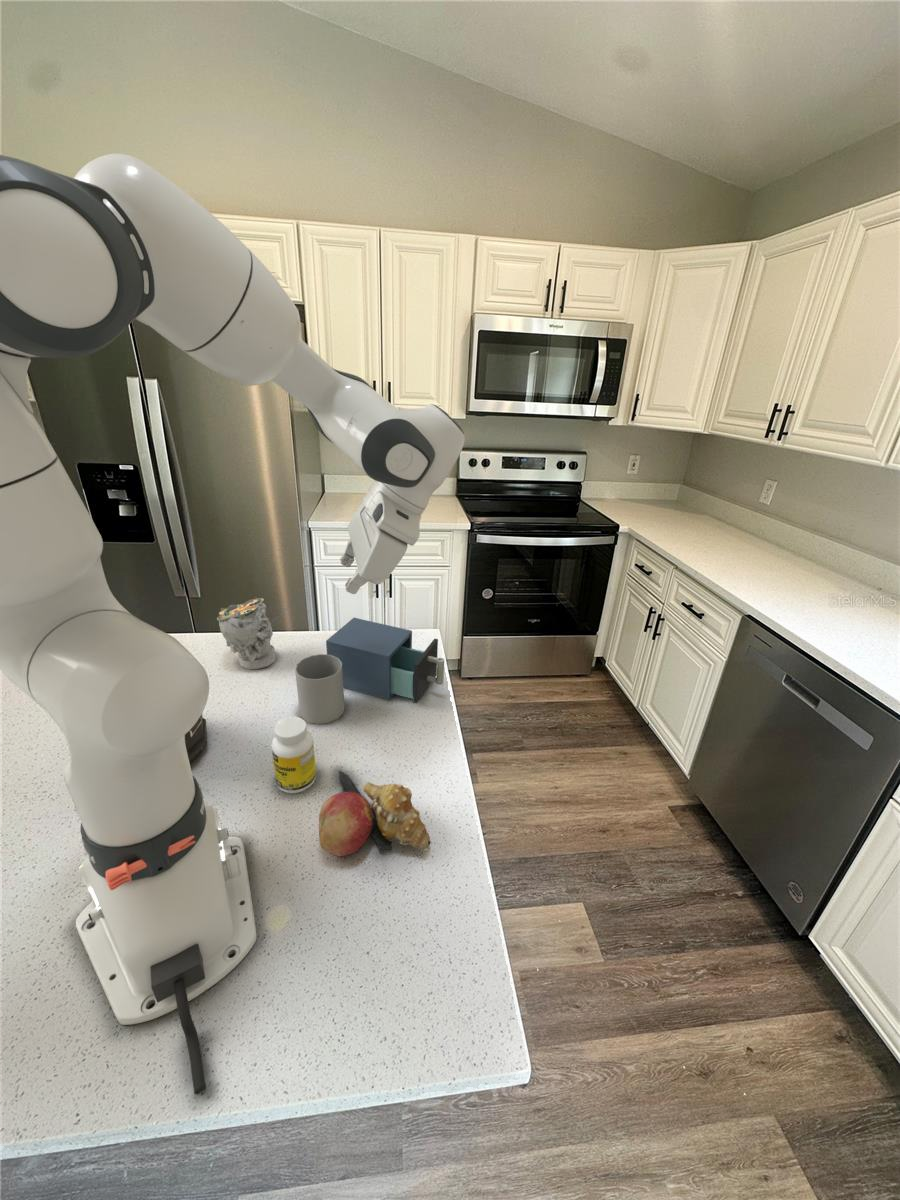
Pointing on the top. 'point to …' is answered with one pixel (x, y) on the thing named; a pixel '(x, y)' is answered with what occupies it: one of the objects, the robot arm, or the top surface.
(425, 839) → the seashell
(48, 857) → the top surface
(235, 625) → the bust
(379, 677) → the blue cabinet
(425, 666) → the drawer with handle
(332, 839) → the fruit
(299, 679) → the cup
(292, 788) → the pill bottle
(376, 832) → the knife
